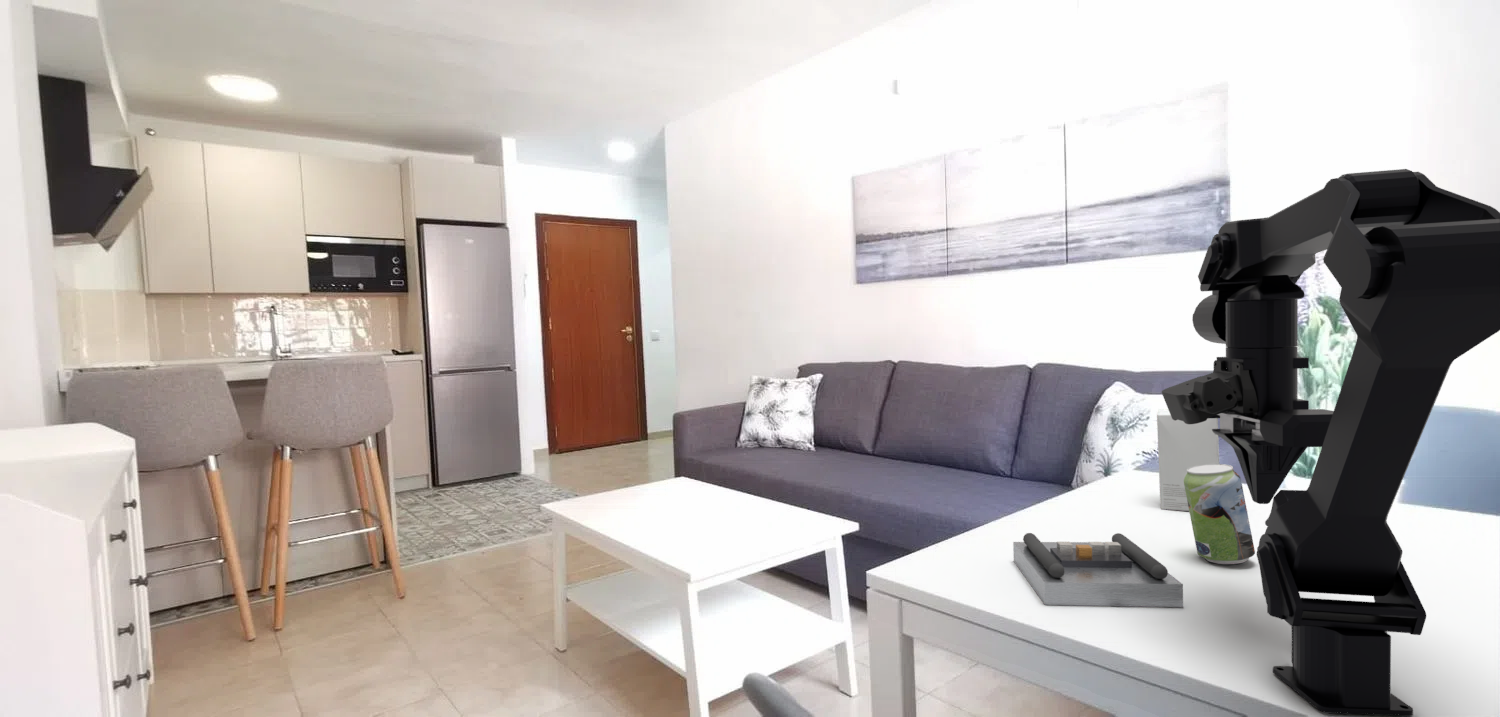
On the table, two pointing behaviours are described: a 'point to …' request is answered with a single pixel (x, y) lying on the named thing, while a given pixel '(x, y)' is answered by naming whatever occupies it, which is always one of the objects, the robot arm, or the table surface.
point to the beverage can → (1218, 514)
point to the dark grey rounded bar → (1044, 555)
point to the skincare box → (1182, 455)
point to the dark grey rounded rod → (1141, 557)
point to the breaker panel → (1096, 577)
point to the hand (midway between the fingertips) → (1261, 502)
